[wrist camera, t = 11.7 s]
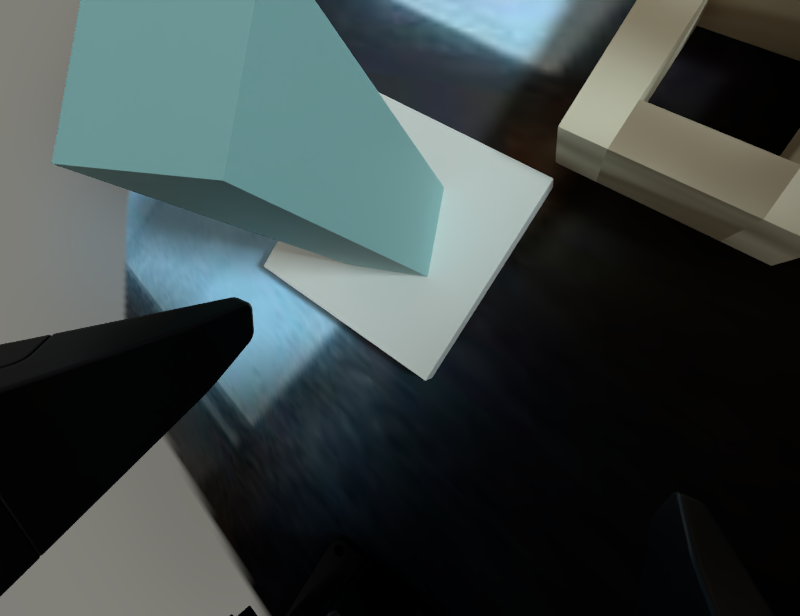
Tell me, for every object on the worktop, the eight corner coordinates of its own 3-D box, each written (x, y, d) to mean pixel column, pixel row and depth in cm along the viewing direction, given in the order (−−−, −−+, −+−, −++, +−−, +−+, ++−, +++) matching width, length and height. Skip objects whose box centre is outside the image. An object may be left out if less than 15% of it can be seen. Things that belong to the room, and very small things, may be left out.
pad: (432, 378, 20) (425, 380, 19) (277, 269, 23) (263, 266, 22) (552, 187, 19) (553, 178, 18) (373, 98, 22) (363, 85, 21)
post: (427, 276, 19) (222, 181, 7) (346, 264, 21) (51, 163, 8) (444, 187, 19) (267, -69, 7) (362, 180, 21) (88, -47, 8)
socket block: (771, 265, 16) (829, 249, 13) (555, 162, 19) (557, 126, 16) (931, 44, 15) (1039, -35, 12) (678, -34, 18) (709, -117, 15)
